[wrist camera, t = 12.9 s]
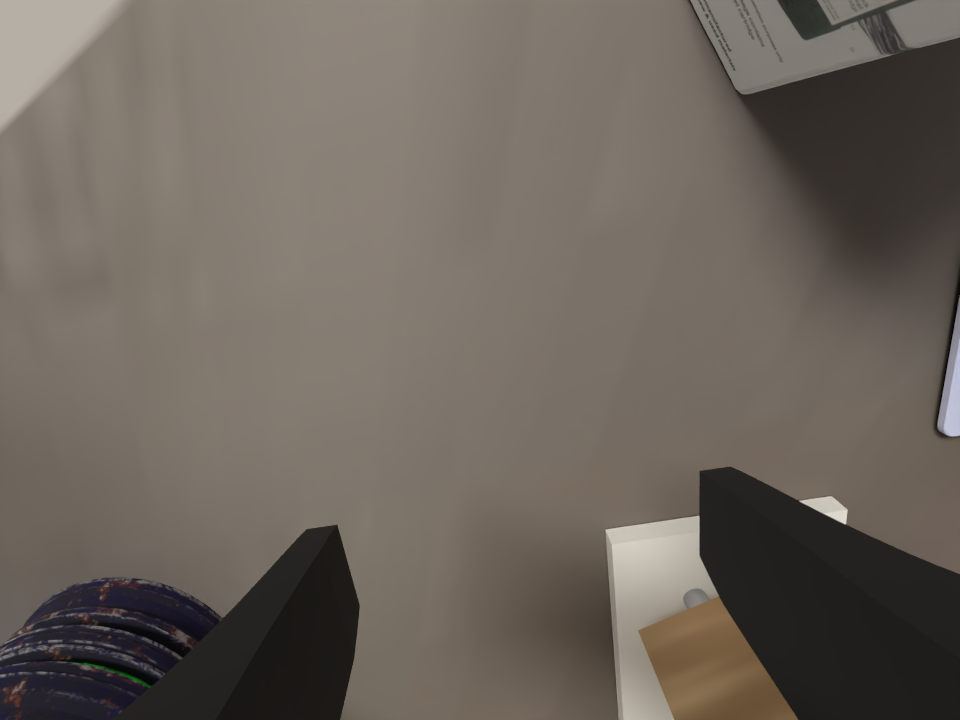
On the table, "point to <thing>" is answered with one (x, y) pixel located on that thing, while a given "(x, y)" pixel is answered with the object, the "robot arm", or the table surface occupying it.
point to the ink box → (818, 35)
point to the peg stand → (658, 598)
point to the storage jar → (98, 649)
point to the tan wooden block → (711, 668)
